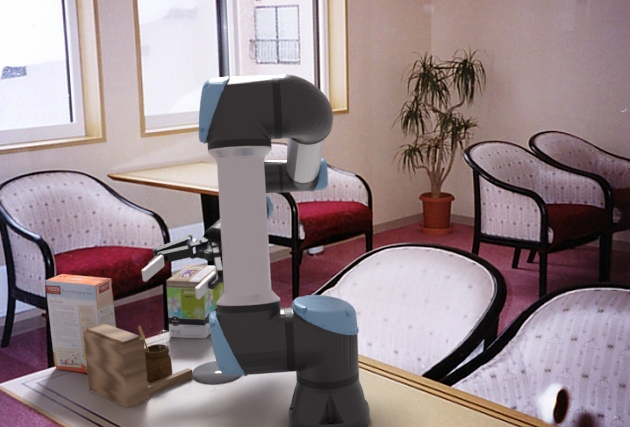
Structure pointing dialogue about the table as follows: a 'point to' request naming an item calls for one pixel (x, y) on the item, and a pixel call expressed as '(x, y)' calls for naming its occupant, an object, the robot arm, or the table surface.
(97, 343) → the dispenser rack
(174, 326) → the tea box
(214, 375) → the plate
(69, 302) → the cracker box
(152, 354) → the utensil holder
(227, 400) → the table surface
